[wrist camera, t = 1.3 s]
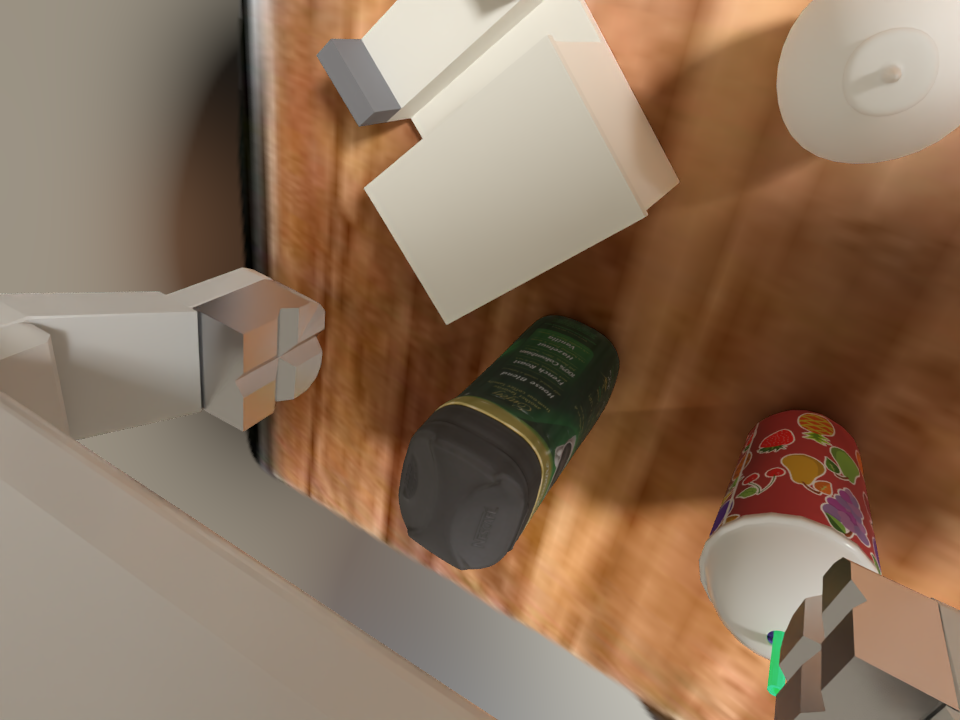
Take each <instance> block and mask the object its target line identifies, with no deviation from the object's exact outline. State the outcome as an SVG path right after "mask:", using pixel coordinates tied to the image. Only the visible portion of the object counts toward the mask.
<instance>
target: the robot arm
mask: <svg viewBox="0 0 960 720" xmlns="http://www.w3.org/2000/svg"><path fill="white" fill-rule="evenodd" d="M324 327H325V310H324V309H323V307H322V306H321V305H320V303H318V302H316V301H314V300H312V299H310V298H308V297H306V296H304V295H302V294H301V293H299V292H297V291H295V290H293V289H291V288H289V287H287V286H285V285H283V284H281V283H279V282H277V281H275V280H272V279H271V278H269V277H267V276H265V275H263V274H261V273H259V272H257V271H255V270H253V269H247V268H240V269H237V270H234V271H231V272H228V273H226V274H223V275H220V276H217V277H215V278H212V279H209V280H206V281H204V282H201V283H198V284H195V285H192V286H190V287H187V288H184V289H181V290H178V291H176V292H173V293H170V294H167V295H165V294H163V293H161V292H159V291H156V292H155V291H153V292H87V293H21V294H0V720H497V719H496V718H494V717H493V716H491V715H489V714H488V713H487V712H485V711H483V710H482V709H480V708H479V707H477V706H476V705H474V704H473V703H471V702H470V701H468V700H467V699H465V698H464V697H462V696H461V695H459V694H458V693H456V692H455V691H453V690H452V689H450V688H449V687H447V686H446V685H444V684H442V683H441V682H439V681H438V680H436V679H435V678H433V677H432V676H431V675H429V674H427V673H426V672H424V671H423V670H421V669H420V668H418V667H417V666H415V665H414V664H412V663H411V662H409V661H408V660H406V659H405V658H403V657H402V656H400V655H399V654H397V653H396V652H394V651H393V650H391V649H390V648H388V647H387V646H385V645H384V644H382V643H381V642H379V641H378V640H376V639H375V638H373V637H371V636H370V635H369V634H367V633H366V632H364V631H363V630H361V629H360V628H358V627H357V626H355V625H353V624H352V623H351V622H349V621H348V620H346V619H345V618H343V617H341V616H340V615H339V614H337V613H336V612H334V611H333V610H331V609H329V608H328V607H326V606H325V605H323V604H322V603H320V602H319V601H317V600H316V599H314V598H313V597H311V596H310V595H308V594H307V593H305V592H304V591H302V590H301V589H299V588H298V587H296V586H295V585H293V584H292V583H290V582H289V581H287V580H286V579H284V578H283V577H281V576H280V575H278V574H277V573H275V572H274V571H272V570H271V569H269V568H268V567H266V566H265V565H263V564H262V563H260V562H259V561H257V560H256V559H254V558H253V557H251V556H250V555H248V554H247V553H245V552H244V551H242V550H240V549H239V548H238V547H236V546H235V545H233V544H232V543H230V542H229V541H227V540H225V539H224V538H222V537H221V536H219V535H218V534H216V533H215V532H213V531H212V530H210V529H209V528H207V527H206V526H204V525H203V524H201V523H200V522H198V521H197V520H195V519H194V518H192V517H191V516H189V515H188V514H186V513H185V512H183V511H182V510H180V509H179V508H177V507H176V506H174V505H173V504H171V503H170V502H168V501H167V500H165V499H164V498H162V497H161V496H159V495H157V494H156V493H155V492H153V491H151V490H150V489H148V488H147V487H145V486H144V485H142V484H141V483H139V482H138V481H136V480H135V479H133V478H132V477H130V476H129V475H127V474H125V473H124V472H123V471H121V470H120V469H118V468H117V467H115V466H114V465H112V464H111V463H109V462H108V461H106V460H104V459H103V458H102V457H100V456H98V455H97V454H96V453H94V452H93V451H91V450H90V449H88V448H87V447H85V446H83V445H82V444H81V443H79V442H78V441H76V440H80V439H85V438H89V437H93V436H97V435H102V434H107V433H111V432H115V431H120V430H124V429H128V428H133V427H137V426H142V425H146V424H151V423H155V422H159V421H164V420H168V419H173V418H177V417H181V416H186V415H190V414H194V413H199V412H201V411H202V410H205V411H206V412H208V413H210V414H212V415H214V416H215V417H217V418H219V419H221V420H223V421H224V422H226V423H228V424H230V425H232V426H234V427H235V428H237V429H239V430H241V431H243V432H244V431H245V430H247V429H248V428H250V427H251V426H253V425H255V424H256V423H258V422H259V421H261V420H262V419H264V418H265V417H267V416H269V415H270V414H272V413H273V412H274V411H275V406H276V402H277V401H284V400H291V399H295V398H296V397H298V396H299V395H301V394H302V393H303V392H305V391H306V390H307V389H308V388H309V386H310V385H311V384H312V382H313V381H314V380H315V378H316V377H317V375H318V372H319V369H320V366H321V361H322V349H321V347H320V344H319V342H318V340H317V337H316V336H317V335H318V334H319V333H320V332H321V331H323V330H324ZM779 667H780V668H781V670H782V672H783V674H784V676H785V678H786V680H787V683H786V684H785V685H784V686H783V688H782V689H781V690H780V691H779V692H778V693H777V695H776V705H775V718H774V720H960V610H958V609H956V608H953V607H951V606H949V605H947V604H945V603H942V602H940V601H938V600H936V599H934V598H929V597H927V596H924V595H922V594H920V593H918V592H916V591H914V590H912V589H910V588H907V587H905V586H903V585H901V584H899V583H897V582H895V581H893V580H891V579H888V578H886V577H884V576H882V575H880V574H878V573H876V572H874V571H872V570H869V569H867V568H865V567H863V566H861V565H859V564H857V563H855V562H852V561H850V560H848V559H846V558H844V557H842V558H841V559H839V560H838V561H836V562H835V563H834V564H833V565H832V566H831V567H830V568H829V570H828V571H827V572H826V573H825V574H824V576H823V589H822V595H818V596H813V597H809V598H805V599H804V601H803V602H802V603H801V605H800V606H799V607H798V609H797V610H796V612H795V613H794V614H793V616H792V618H791V620H790V622H789V625H788V627H787V629H786V631H785V633H784V637H783V641H782V645H781V649H780V658H779Z"/></svg>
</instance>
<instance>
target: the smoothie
mask: <svg viewBox="0 0 960 720" xmlns="http://www.w3.org/2000/svg"><path fill="white" fill-rule="evenodd" d="M842 557H844V558H846V559H848V560H850V561H852V562H855V563H857V564H859V565H861V566H863V567H865V568H867V569H869V570H872V571H874V572H876V573H878V574H880V575H882V574H881V569H880V563H879V557H878V552H877V546H876V541H875V535H874V529H873V524H872V518H871V513H870V507H869V501H868V496H867V490H866V485H865V479H864V473H863V468H862V462H861V457H860V452H859V450H858V447H857V445H856V443H855V440H854V438H853V437H852V436H851V435H850V434H849V433H848V432H847V431H846V430H845V429H844V428H843V427H842V426H841V425H839V424H837V423H836V422H834V421H832V420H831V419H829V418H827V417H826V416H824V415H822V414H819V413H815V412H812V411H808V410H789V411H784V412H780V413H777V414H774V415H771V416H769V417H767V418H766V419H764V420H762V421H760V422H758V423H757V424H756V425H755V427H754V428H753V429H752V430H751V431H750V433H749V434H748V436H747V439H746V442H745V444H744V447H743V450H742V452H741V455H740V457H739V460H738V463H737V465H736V468H735V470H734V473H733V476H732V478H731V481H730V483H729V486H728V489H727V491H726V494H725V496H724V499H723V502H722V504H721V507H720V509H719V512H718V515H717V517H716V520H715V523H714V525H713V528H712V530H711V533H710V536H709V538H708V539H707V541H706V543H705V545H704V548H703V551H702V553H701V556H700V559H699V568H700V580H701V582H702V584H703V587H704V589H705V591H706V593H707V595H708V597H709V599H710V601H711V602H712V603H713V605H714V608H715V610H716V612H717V614H718V616H719V618H720V620H721V621H722V622H723V624H724V625H725V626H726V628H727V629H728V630H729V631H730V632H731V633H732V634H733V636H734V637H735V638H736V639H737V640H738V641H739V642H741V643H742V644H743V645H745V646H746V647H747V648H749V649H750V650H752V651H753V652H754V653H756V654H757V655H759V656H762V657H764V658H766V659H768V660H770V670H769V679H768V687H767V690H768V691H769V693H770V694H772V695H773V696H776V695H777V693H778V692H779V691H780V690H781V689H782V688H783V686H784V685H785V676H784V674H783V672H782V670H781V668H780V667H779V658H780V649H781V645H782V641H783V637H784V633H785V631H786V629H787V627H788V625H789V622H790V620H791V618H792V616H793V614H794V613H795V612H796V610H797V609H798V607H799V606H800V605H801V603H802V602H803V601H804V599H805V598H809V597H813V596H818V595H822V589H823V576H824V574H825V573H826V572H827V571H828V570H829V568H830V567H831V566H832V565H833V564H834V563H835V562H836V561H838V560H839V559H841V558H842Z"/></svg>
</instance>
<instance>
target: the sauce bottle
mask: <svg viewBox="0 0 960 720" xmlns="http://www.w3.org/2000/svg"><path fill="white" fill-rule="evenodd" d="M776 87H777V97H778V105H779V109H780V112H781V115H782V119H783V122H784V123H785V125H786V127H787V129H788V131H789V132H790V134H791V136H792V137H793V138H794V139H795V140H796V141H797V142H798V143H799V144H800V145H801V146H802V147H803V148H804V149H806V150H808V151H809V152H811V153H813V154H814V155H816V156H818V157H821V158H824V159H828V160H831V161H834V162H841V163H850V164H864V163H878V162H883V161H888V160H894V159H898V158H901V157H904V156H907V155H910V154H913V153H916V152H919V151H921V150H923V149H925V148H926V147H928V146H930V145H932V144H934V143H936V142H938V141H940V140H941V139H942V138H944V137H945V136H946V135H948V134H949V133H951V132H952V131H953V130H955V129H956V128H957V127H958V126H959V125H960V0H813V1H812V2H811V3H810V4H809V5H808V6H807V7H806V8H805V9H804V10H803V11H802V12H801V14H800V15H799V17H798V18H797V20H796V21H795V23H794V24H793V26H792V27H791V29H790V32H789V34H788V36H787V38H786V41H785V43H784V45H783V48H782V52H781V56H780V60H779V64H778V72H777V85H776Z"/></svg>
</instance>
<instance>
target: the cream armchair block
mask: <svg viewBox="0 0 960 720" xmlns="http://www.w3.org/2000/svg"><path fill="white" fill-rule="evenodd" d="M317 57H318V59H319V60H320V62H321V64H322V66H323V67H324V69H325V71H326V72H327V74H328V76H329V77H330V79H331V81H332V82H333V84H334V86H335V87H336V89H337V91H338V92H339V94H340V96H341V97H342V99H343V101H344V102H345V104H346V106H347V107H348V109H349V111H350V113H351V114H352V116H353V118H354V119H355V121H356V123H357V124H358V126H359V127H360V126H366V125H372V124H378V123H384V122H390V121H396V120H403V119H409V118H411V119H412V121H413V123H414V125H415V126H416V128H417V130H418V131H419V133H420V135H421V137H422V138H423V139H422V140H421V141H419V142H418V143H417V144H416V145H415V146H413V147H412V148H411V149H410V150H409V151H407V152H406V153H405V154H404V155H403V156H401V157H400V158H399V159H398V160H397V161H395V162H394V163H393V164H392V165H391V166H389V167H388V168H387V169H386V170H385V171H384V172H382V173H381V174H380V175H379V176H378V177H376V178H375V179H374V180H373V181H372V182H370V183H369V184H368V185H367V186H366V187H364V189H365V191H366V193H367V194H368V196H369V198H370V199H371V201H372V203H373V204H374V206H375V208H376V209H377V211H378V212H379V214H380V216H381V217H382V219H383V221H384V222H385V224H386V226H387V227H388V229H389V231H390V232H391V234H392V236H393V237H394V239H395V241H396V242H397V244H398V246H399V247H400V249H401V251H402V252H403V254H404V256H405V257H406V259H407V261H408V262H409V264H410V266H411V267H412V269H413V270H414V272H415V274H416V275H417V277H418V279H419V280H420V282H421V284H422V285H423V287H424V289H425V290H426V292H427V294H428V295H429V297H430V299H431V300H432V302H433V304H434V305H435V307H436V309H437V310H438V312H439V314H440V315H441V317H442V319H443V320H444V322H445V324H446V325H448V324H449V323H451V322H453V321H455V320H457V319H459V318H460V317H462V316H464V315H466V314H468V313H470V312H471V311H473V310H475V309H477V308H479V307H481V306H483V305H484V304H486V303H488V302H490V301H492V300H494V299H495V298H497V297H499V296H501V295H503V294H505V293H506V292H508V291H510V290H512V289H514V288H516V287H518V286H519V285H521V284H523V283H525V282H527V281H529V280H530V279H532V278H534V277H536V276H538V275H540V274H541V273H543V272H545V271H547V270H549V269H551V268H553V267H554V266H556V265H558V264H560V263H562V262H564V261H565V260H567V259H569V258H571V257H573V256H575V255H577V254H578V253H580V252H582V251H584V250H586V249H588V248H589V247H591V246H593V245H595V244H597V243H599V242H600V241H602V240H604V239H606V238H608V237H610V236H612V235H613V234H615V233H617V232H619V231H621V230H623V229H624V228H626V227H628V226H630V225H632V224H634V223H635V222H637V221H639V220H641V219H643V218H645V217H646V216H647V215H648V213H647V211H646V210H647V209H648V208H650V207H651V206H652V205H653V204H654V203H656V202H657V201H658V200H659V199H660V198H662V197H663V196H664V195H665V194H666V193H668V192H669V191H670V190H671V189H672V188H674V187H675V186H676V185H677V184H678V183H680V181H679V179H678V177H677V175H676V174H675V172H674V170H673V168H672V166H671V164H670V162H669V160H668V158H667V156H666V155H665V153H664V151H663V149H662V147H661V145H660V143H659V141H658V139H657V137H656V136H655V134H654V132H653V130H652V128H651V126H650V124H649V122H648V120H647V118H646V116H645V115H644V113H643V111H642V109H641V107H640V105H639V103H638V101H637V99H636V97H635V96H634V94H633V92H632V90H631V88H630V86H629V84H628V82H627V80H626V78H625V77H624V75H623V73H622V71H621V69H620V67H619V65H618V63H617V61H616V59H615V58H614V56H613V54H612V52H611V50H610V48H609V46H608V44H607V42H606V40H605V38H604V37H603V35H602V33H601V31H600V29H599V27H598V25H597V23H596V21H595V19H594V18H593V16H592V14H591V12H590V10H589V8H588V6H587V4H586V2H585V0H397V1H396V2H395V3H394V4H393V5H392V7H391V8H390V9H389V10H388V11H387V12H386V13H385V14H384V15H383V16H382V17H381V18H380V20H379V21H378V22H377V23H376V24H375V25H374V26H373V27H372V28H371V29H370V30H369V31H368V33H367V34H366V35H365V36H364V37H363V38H362V39H330V41H329V42H328V43H327V44H326V45H325V46H324V47H323V49H322V50H321V51H320V52H319V53H318V54H317Z"/></svg>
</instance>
